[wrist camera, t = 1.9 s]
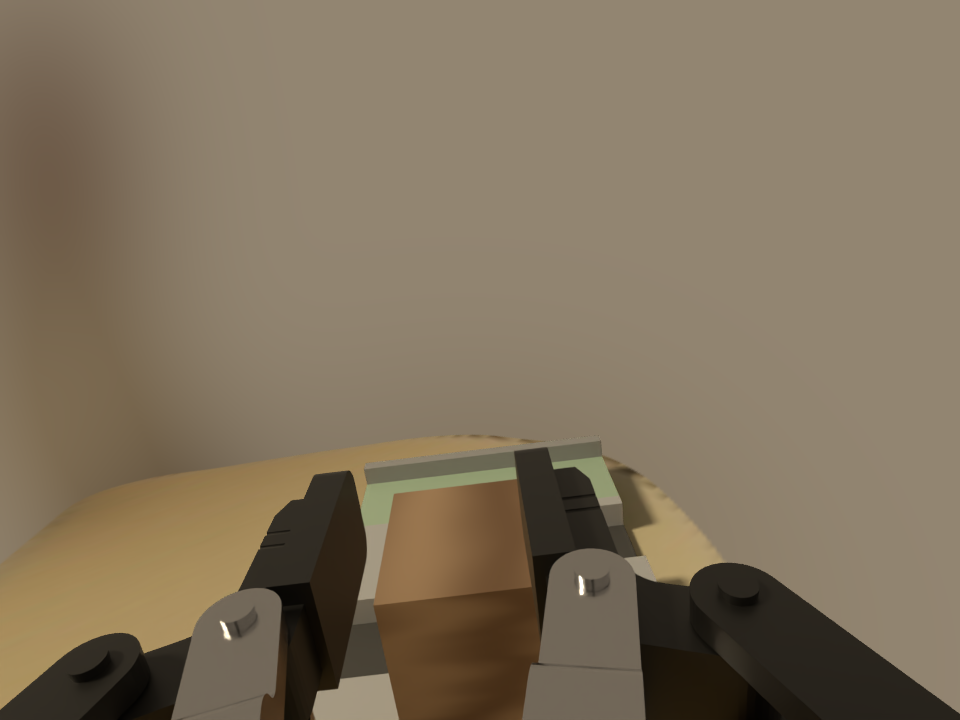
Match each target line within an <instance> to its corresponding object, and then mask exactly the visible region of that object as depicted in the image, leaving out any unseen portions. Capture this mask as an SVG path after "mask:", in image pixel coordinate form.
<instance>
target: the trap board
mask: <svg viewBox="0 0 960 720" xmlns="http://www.w3.org/2000/svg"><path fill="white" fill-rule="evenodd" d="M541 447H547V448H548V451H549V455H550V458H551V462H552V465H553V469H560V468H568V467H576V468H577V469H579V470H580V471H581V472H582V473H584V474H585V475H586V476H587V477H589V478H590V480H591V483H592V486H593V488H594V491H595V494H596V496H597V499H598V502H599V504H600V508H601V510H602V512H603V515H604V517H605V520H606V523H607V525H608V528H609V531H610V533H611V536H612V539H613V541H614V544H615V547H616V549H617V552H618V555H620V556H621V557H623V558H624V559H625V560H627V561H628V562H629V563H630V565H631V566H632V567H633V570H634V572H635V573H636V574H637V575H639V576H641V577H643V578H646V579H648V580H651V581H655V582H657V581H656V578H655V576H654V574H653V571H652V569H651V567H650V565H649V562H648V560H647V558H646V556H638V557H637V556H636V554H635V551H634V549H633V546H632V544H631V542H630V539H629V537H628V534H627V532H626V530H625V527H624V525H623V504H622V501H621V499H620V496H619V494H618V492H617V490H616V487H615V485H614V483H613V481H612V478H611V476H610V474H609V471H608V469H607V467H606V465H605V462H604V460H603V458H602V449H601V440H600V438H599V435H596V436H589V437H580V438H571V439H563V440H555V441H547V442H538V443H530V444H522V445H513V446H505V447H497V448H489V449H480V450H472V451H464V452H455V453H447V454H439V455H431V456H422V457H414V458H406V459H397V460H389V461H381V462H373V463H366V464H365V468H364V471H365V476H366V481H367V488H366V492H365V495H364V499H363V503H362V507H361V513H362V518H363V523H364V527H365V532H366V539H367V559H366V564H365V569H364V574H363V578H362V583H361V587H360V592H359V596H358V601H357V605H356V610H355V615H354V619H353V624H352V628H351V633H350V637H349V642H348V646H347V651H346V655H345V660H344V665H343V669H342V674H341V678H340V683H339V687H338V689H334V690H325V691H317V695H316V699H315V703H314V707H313V713H314V716H315V720H399V717H398V713H397V709H396V704H395V700H394V695H393V691H392V686H391V682H390V677H389V673H388V669H387V664H386V660H385V655H384V651H383V646H382V642H381V638H380V633H379V629H378V624H377V620H376V615H375V611H374V607H373V604H374V599H375V593H376V588H377V583H378V577H379V572H380V566H381V561H382V556H383V550H384V545H385V539H386V534H387V528H388V523H389V518H390V512H391V507H392V501H393V496H394V494H396V493H404V492H413V491H421V490H429V489H438V488H446V487H454V486H463V485H471V484H479V483H488V482H496V481H504V480H513V479H517V476H516V468H515V459H514V451H517V450H525V449H533V448H541Z"/></svg>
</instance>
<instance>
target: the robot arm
mask: <svg viewBox="0 0 960 720" xmlns="http://www.w3.org/2000/svg"><path fill="white" fill-rule="evenodd" d="M514 459H515V468H516V476H517V485H518V494H519V503H520V512H521V520H522V528H523V535H524V542H525V548H526V555H527V561H528V567H529V574H530V580H531V586H532V593H533V599H534V605H535V611H536V618H537V624H538V630H539V637H540V643H541V645H540V653H539V661H538V663H537V662H533V663H532V664H531V666H530V670H529V675H528V681H527V689H526V696H525V703H524V710H523V717H522V720H960V714H959V713H958V712H956V711H955V710H954V709H952V708H951V707H950V706H948V705H947V704H945V703H944V702H943V701H941V700H940V699H939V698H937V697H936V696H935V695H933V694H932V693H931V692H929V691H928V690H926V689H925V688H924V687H922V686H921V685H920V684H918V683H917V682H915V681H914V680H913V679H911V678H910V677H908V676H907V675H906V674H905V673H903V672H902V671H900V670H899V669H898V668H896V667H895V666H894V665H892V664H891V663H889V662H888V661H887V660H885V659H884V658H883V657H881V656H880V655H879V654H877V653H876V652H874V651H873V650H872V649H870V648H869V647H867V646H866V645H865V644H864V643H862V642H861V641H859V640H858V639H857V638H855V637H854V636H853V635H851V634H850V633H849V632H847V631H846V630H844V629H843V628H842V627H840V626H839V625H838V624H836V623H835V622H833V621H832V620H831V619H829V618H828V617H826V616H825V615H824V614H823V613H821V612H820V611H818V610H817V609H816V608H814V607H813V606H812V605H810V604H809V603H807V602H806V601H805V600H803V599H802V598H801V597H799V596H798V595H797V594H795V593H794V592H792V591H791V590H790V589H788V588H787V587H786V586H784V585H783V584H782V583H780V582H779V581H777V580H776V579H775V578H773V577H772V576H770V575H769V574H767V573H765V572H763V571H761V570H759V569H757V568H754V567H751V566H748V565H744V564H737V563H718V564H713V565H710V566H707V567H704V568H703V569H701V570H699V571H698V572H697V573H696V574H695V575H694V576H693V578H692V580H691V582H690V587H689V586H681V585H672V584H665V583H659V582H655V581H651V580H648V579H646V578H643V577H641V576H639V575H637V574H636V573H635V572H634V570H633V567H632V566H631V565H630V563H629V562H628V561H627V560H625V559H624V558H623V557H621V556H620V555H618V552H617V549H616V547H615V544H614V541H613V539H612V536H611V533H610V531H609V528H608V525H607V523H606V520H605V517H604V515H603V512H602V510H601V508H600V504H599V502H598V499H597V496H596V494H595V491H594V488H593V486H592V483H591V480H590V478H589V477H587V476H586V475H585V474H584V473H582V472H581V471H580V470H579V469H577V468H576V467H568V468H560V469H553V465H552V462H551V458H550V455H549V451H548V448H547V447H541V448H533V449H525V450H517V451H514ZM366 559H367V539H366V532H365V527H364V523H363V518H362V513H361V509H360V504H359V500H358V495H357V491H356V486H355V482H354V478H353V475H352V473H351V472H350V471H341V472H332V473H324V474H316V475H314V477H313V479H312V481H311V483H310V486H309V488H308V490H307V493H306V495H305V497H304V499H300V500H292V501H290V502H289V503H288V504H287V505H286V506H285V507H284V508H283V509H282V510H281V511H280V512H279V513H278V514H276V515H275V517H274V519H273V521H272V523H271V525H270V527H269V529H268V531H267V536H265V537H264V539H263V541H262V543H261V546H260V550H258V552H257V554H256V556H255V558H254V560H253V562H252V564H251V566H250V568H249V570H248V572H247V574H246V576H245V579H244V581H243V583H242V585H241V587H240V589H239V591H238V592H235V593H233V594H230V595H228V596H226V597H224V598H222V599H221V600H219V601H218V602H216V603H215V604H213V605H212V606H211V607H209V608H208V609H207V610H206V611H205V612H204V613H203V614H202V616H201V617H200V618H199V620H198V621H197V623H196V625H195V628H194V631H193V635H192V636H191V637H189V638H187V639H184V640H181V641H179V642H176V643H173V644H170V645H167V646H164V647H161V648H159V649H156V650H153V651H150V652H147V653H143V650H142V648H141V645H140V643H139V641H138V639H137V638H136V637H134V636H133V635H130V634H126V633H114V634H108V635H104V636H100V637H98V638H95V639H92V640H90V641H88V642H86V643H83V644H82V645H80V646H78V647H76V648H74V649H73V650H71V651H70V652H68V653H67V654H66V655H64V656H63V657H62V658H61V659H59V660H58V661H57V662H56V663H55V664H53V665H52V666H51V667H50V668H49V669H48V670H46V671H45V672H44V673H43V674H42V675H41V676H39V677H38V678H37V679H36V680H35V681H33V682H32V683H31V684H30V685H29V686H28V687H26V688H25V689H24V690H23V691H22V692H21V693H19V694H18V695H17V696H16V697H15V698H14V699H12V700H11V701H10V702H9V703H8V704H7V705H5V706H4V707H3V708H2V709H1V710H0V720H315V716H314V713H313V707H314V703H315V699H316V695H317V691H325V690H334V689H338V687H339V683H340V678H341V674H342V669H343V665H344V660H345V655H346V651H347V646H348V642H349V637H350V633H351V628H352V624H353V619H354V615H355V610H356V605H357V601H358V596H359V592H360V587H361V583H362V578H363V574H364V569H365V564H366Z"/></svg>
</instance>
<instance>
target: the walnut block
mask: <svg viewBox="0 0 960 720" xmlns="http://www.w3.org/2000/svg"><path fill="white" fill-rule="evenodd" d="M373 607H374V611H375V615H376V620H377V624H378V629H379V633H380V638H381V642H382V646H383V651H384V655H385V660H386V664H387V669H388V673H389V677H390V682H391V686H392V691H393V695H394V700H395V704H396V709H397V713H398V717H399V720H522V717H523V710H524V703H525V696H526V689H527V681H528V675H529V670H530V666H531V664H532V663H533V662H537V663H538V661H539V653H540V645H541V643H540V637H539V630H538V624H537V618H536V611H535V605H534V599H533V593H532V586H531V580H530V574H529V567H528V561H527V555H526V548H525V542H524V535H523V528H522V520H521V512H520V503H519V494H518V485H517V479H513V480H504V481H496V482H488V483H479V484H471V485H463V486H454V487H446V488H438V489H429V490H421V491H413V492H404V493H396V494H394V496H393V501H392V507H391V512H390V518H389V523H388V528H387V534H386V539H385V545H384V550H383V556H382V561H381V566H380V572H379V577H378V583H377V588H376V593H375V599H374V604H373Z"/></svg>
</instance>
